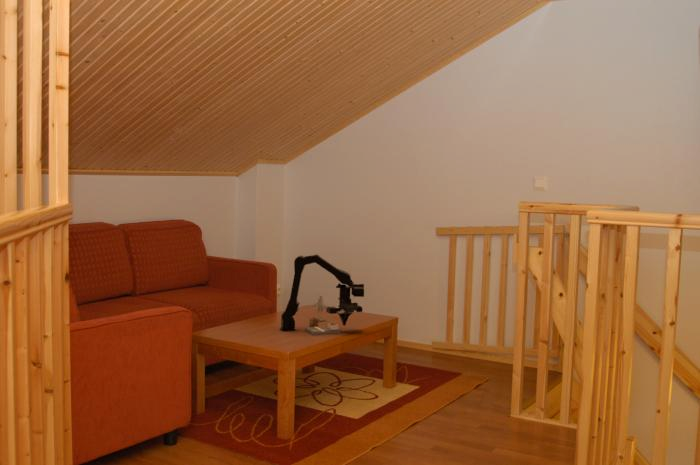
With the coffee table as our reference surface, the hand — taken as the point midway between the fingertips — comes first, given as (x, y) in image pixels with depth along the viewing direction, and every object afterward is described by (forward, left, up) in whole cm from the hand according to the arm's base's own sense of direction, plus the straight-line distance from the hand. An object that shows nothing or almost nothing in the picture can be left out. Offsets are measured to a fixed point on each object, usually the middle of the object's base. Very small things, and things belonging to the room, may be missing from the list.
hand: (344, 325), depth 415 cm
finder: (-6, 0, -2) cm, 7 cm away
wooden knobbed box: (-12, +14, -3) cm, 18 cm away
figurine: (-2, +30, -3) cm, 30 cm away
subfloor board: (-11, +2, -3) cm, 12 cm away
